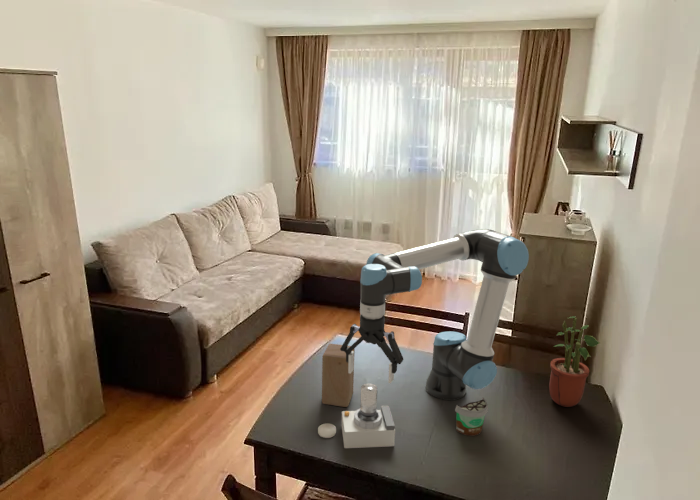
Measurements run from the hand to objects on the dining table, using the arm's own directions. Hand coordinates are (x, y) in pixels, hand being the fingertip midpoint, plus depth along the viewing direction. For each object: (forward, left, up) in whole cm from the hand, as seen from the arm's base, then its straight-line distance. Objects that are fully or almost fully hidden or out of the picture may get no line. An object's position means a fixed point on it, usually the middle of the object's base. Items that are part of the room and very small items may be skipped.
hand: (370, 376), depth 158 cm
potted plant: (-77, -17, -22) cm, 82 cm away
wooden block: (+8, -22, -22) cm, 32 cm away
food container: (-36, 0, -22) cm, 42 cm away
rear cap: (+13, -3, -22) cm, 26 cm away
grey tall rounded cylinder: (0, 0, -16) cm, 16 cm away
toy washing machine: (0, 0, -22) cm, 22 cm away
